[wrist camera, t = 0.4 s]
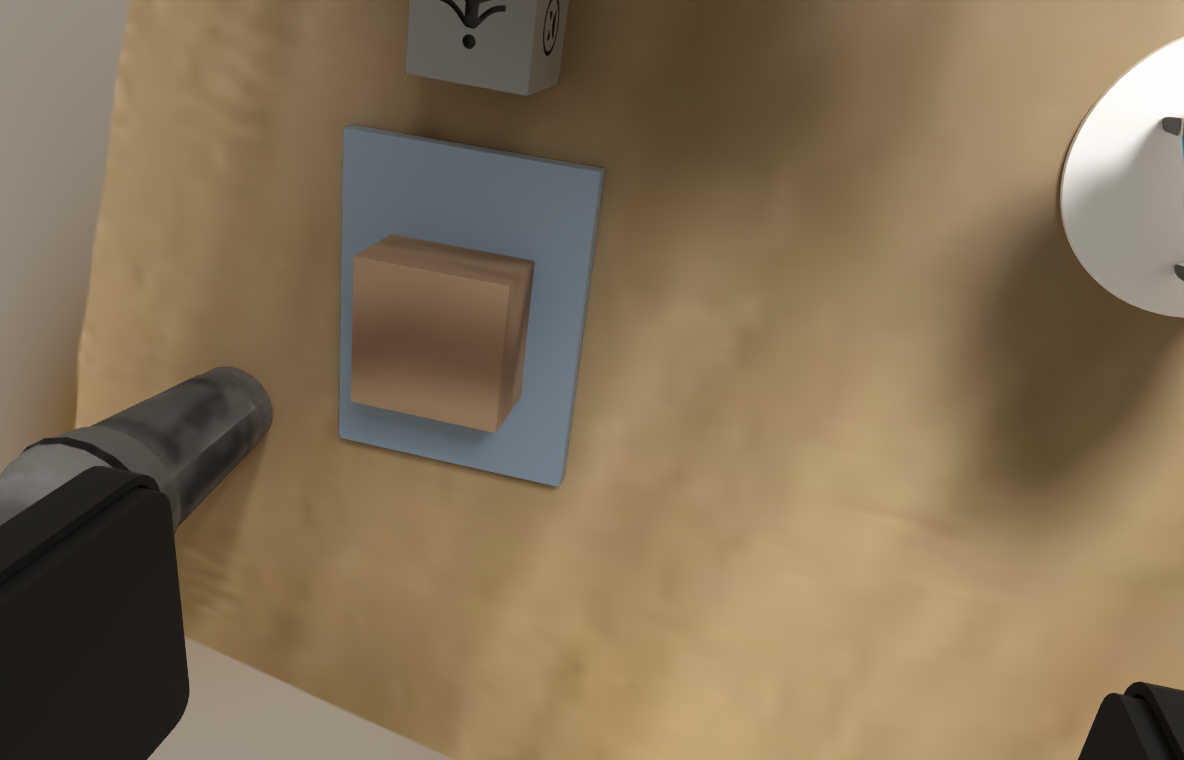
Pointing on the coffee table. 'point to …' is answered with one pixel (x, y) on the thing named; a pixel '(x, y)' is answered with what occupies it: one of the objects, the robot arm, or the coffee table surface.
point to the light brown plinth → (439, 330)
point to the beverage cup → (153, 443)
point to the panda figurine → (1132, 185)
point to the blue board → (492, 224)
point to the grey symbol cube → (488, 42)
